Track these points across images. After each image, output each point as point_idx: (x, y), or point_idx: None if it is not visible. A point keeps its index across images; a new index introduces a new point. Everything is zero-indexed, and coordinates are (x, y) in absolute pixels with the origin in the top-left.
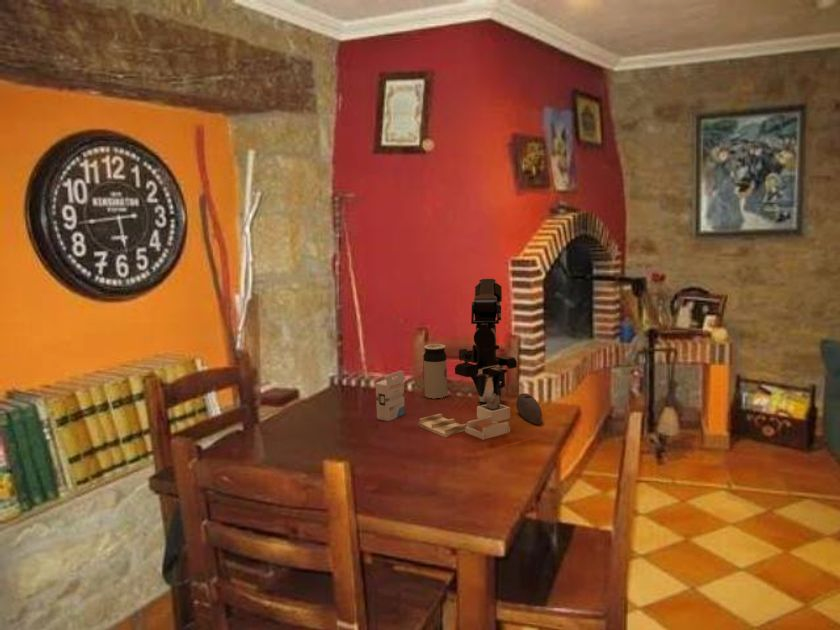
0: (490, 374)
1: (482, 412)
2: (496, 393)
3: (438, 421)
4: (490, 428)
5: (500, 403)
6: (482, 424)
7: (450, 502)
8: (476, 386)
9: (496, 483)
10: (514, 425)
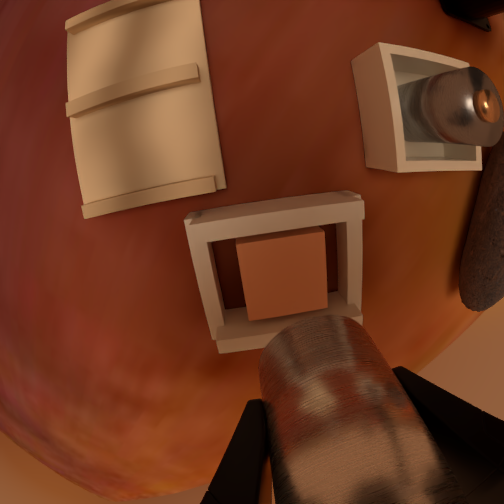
0: (501, 484)
1: (377, 91)
2: (497, 10)
3: (143, 33)
4: (253, 345)
5: (482, 25)
6: (264, 265)
7: (66, 460)
8: (215, 490)
9: (139, 470)
10: (422, 226)
